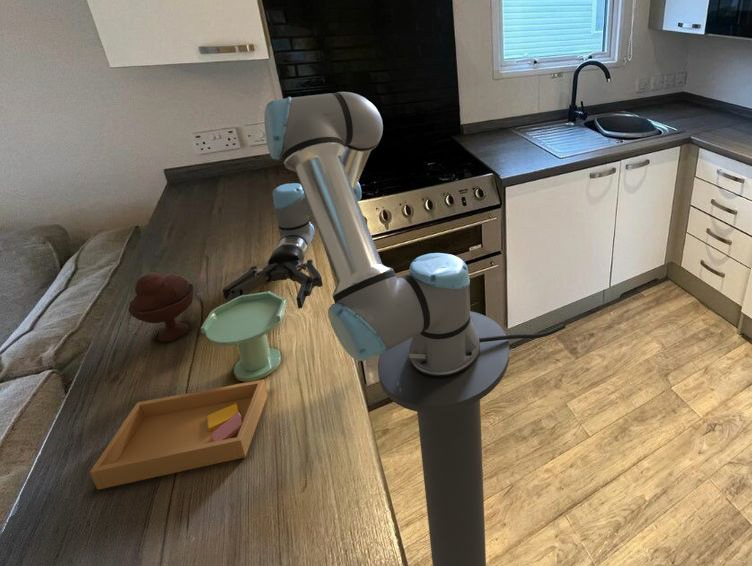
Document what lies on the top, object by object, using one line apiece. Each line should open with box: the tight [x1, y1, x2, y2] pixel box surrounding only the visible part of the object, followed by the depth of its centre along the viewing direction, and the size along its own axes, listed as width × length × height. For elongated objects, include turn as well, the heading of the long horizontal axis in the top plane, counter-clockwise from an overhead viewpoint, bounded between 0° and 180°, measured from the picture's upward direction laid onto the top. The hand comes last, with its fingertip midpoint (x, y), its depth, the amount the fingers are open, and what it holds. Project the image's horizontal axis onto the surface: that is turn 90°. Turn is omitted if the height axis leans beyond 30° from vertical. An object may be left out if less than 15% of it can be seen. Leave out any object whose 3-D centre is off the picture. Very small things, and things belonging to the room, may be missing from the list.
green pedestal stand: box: [200, 291, 288, 383], centre depth 86 cm, size 13×13×13 cm
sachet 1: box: [207, 403, 239, 432], centre depth 76 cm, size 4×3×1 cm
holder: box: [89, 378, 269, 490], centre depth 73 cm, size 20×13×4 cm, turn 106°
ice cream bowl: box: [128, 271, 194, 343], centre depth 95 cm, size 11×11×15 cm
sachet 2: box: [212, 412, 243, 442], centre depth 73 cm, size 4×3×1 cm
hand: (264, 308), depth 94 cm, fingers open, 13 cm apart
